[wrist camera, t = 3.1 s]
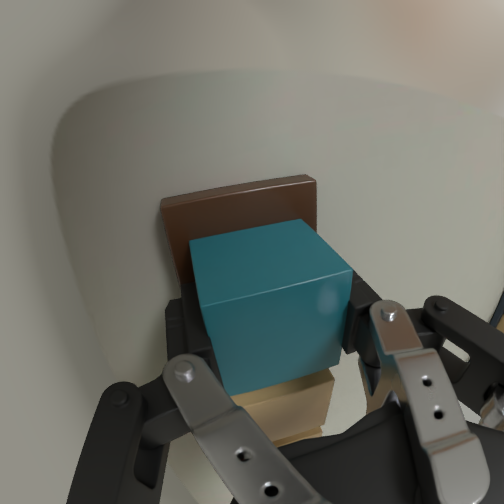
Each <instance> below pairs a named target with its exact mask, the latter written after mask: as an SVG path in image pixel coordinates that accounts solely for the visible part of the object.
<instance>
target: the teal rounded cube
mask: <svg viewBox="0 0 504 504" xmlns="http://www.w3.org/2000/svg"><path fill="white" fill-rule="evenodd" d="M189 246H190V252H191V258H192V265H193V270H194V276H195V282H196V288H197V293H198V299H199V304H200V309H201V313H202V316H203V320H204V324H205V328H206V331H207V335H208V337H210V338H211V342H212V346H213V349H214V353H215V357H216V360H217V364H218V367H219V371H220V374H221V378H222V381H223V385H224V389H225V390H226V392H227V393H228V394H229V396H235V395H239V394H243V393H247V392H251V391H255V390H258V389H262V388H266V387H270V386H273V385H277V384H280V383H283V382H287V381H290V380H293V379H297V378H300V377H303V376H306V375H309V374H312V373H315V372H318V371H321V370H324V369H327V368H330V367H332V366H335V365H338V364H339V360H340V355H341V350H342V340H343V334H344V328H345V322H346V316H347V309H348V302H349V300H350V292H351V284H352V276H353V269H352V268H351V267H350V266H349V265H348V264H347V263H346V262H345V261H344V260H343V259H342V258H341V257H340V256H339V255H338V254H337V253H336V252H335V251H334V250H333V249H332V248H331V247H330V246H329V245H328V244H327V243H326V242H325V241H324V240H323V239H322V238H321V237H320V236H319V235H318V234H317V233H316V232H315V231H314V230H313V229H312V228H311V227H310V226H308V225H307V224H306V223H305V222H304V221H303V220H302V219H296V220H290V221H285V222H280V223H275V224H269V225H264V226H259V227H254V228H249V229H244V230H239V231H234V232H229V233H224V234H219V235H214V236H209V237H204V238H199V239H194V240H190V241H189Z"/></svg>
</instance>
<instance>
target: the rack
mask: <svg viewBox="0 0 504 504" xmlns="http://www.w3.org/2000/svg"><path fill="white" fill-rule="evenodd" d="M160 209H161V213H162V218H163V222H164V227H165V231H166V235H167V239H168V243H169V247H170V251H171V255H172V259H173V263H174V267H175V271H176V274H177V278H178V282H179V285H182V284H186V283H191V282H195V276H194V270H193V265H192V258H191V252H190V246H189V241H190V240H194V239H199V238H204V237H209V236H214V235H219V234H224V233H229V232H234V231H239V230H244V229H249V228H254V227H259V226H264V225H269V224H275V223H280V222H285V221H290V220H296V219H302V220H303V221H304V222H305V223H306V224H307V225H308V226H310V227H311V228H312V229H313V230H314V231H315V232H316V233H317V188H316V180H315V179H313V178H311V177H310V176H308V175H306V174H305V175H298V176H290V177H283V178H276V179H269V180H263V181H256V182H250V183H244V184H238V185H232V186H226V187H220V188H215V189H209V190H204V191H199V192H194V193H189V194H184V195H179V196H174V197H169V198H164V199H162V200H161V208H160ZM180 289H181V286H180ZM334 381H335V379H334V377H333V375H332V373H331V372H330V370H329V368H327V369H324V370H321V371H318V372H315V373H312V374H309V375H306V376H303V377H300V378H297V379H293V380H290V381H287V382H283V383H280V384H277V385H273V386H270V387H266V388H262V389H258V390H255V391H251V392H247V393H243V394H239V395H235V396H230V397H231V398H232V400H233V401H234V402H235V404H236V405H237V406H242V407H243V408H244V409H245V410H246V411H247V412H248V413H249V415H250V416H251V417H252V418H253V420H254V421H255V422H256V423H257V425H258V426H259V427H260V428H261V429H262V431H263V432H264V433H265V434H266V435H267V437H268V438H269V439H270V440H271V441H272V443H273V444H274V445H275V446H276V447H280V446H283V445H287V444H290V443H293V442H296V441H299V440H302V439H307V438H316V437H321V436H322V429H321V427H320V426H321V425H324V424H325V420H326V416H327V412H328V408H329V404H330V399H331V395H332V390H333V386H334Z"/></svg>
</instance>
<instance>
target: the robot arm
mask: <svg viewBox="0 0 504 504" xmlns="http://www.w3.org/2000/svg"><path fill="white" fill-rule="evenodd" d="M180 286H181V296H182V298H178V299H173V300H170V301H169V303H168V305H167V307H166V309H165V320H166V341H167V356H168V362H167V363H166V365H165V366H164V368H163V372H162V374H161V375H160V376H159V377H158V378H157V379H155V380H153V381H151V382H149V383H147V384H145V385H143V386H141V387H137V386H136V385H135V384H133V383H130V382H118V383H115V384H112V385H111V386H109V387H108V388H107V389H106V390H105V391H104V392H103V394H102V396H101V398H100V401H99V404H98V406H97V409H96V412H95V414H94V417H93V420H92V423H91V425H90V428H89V431H88V434H87V437H86V440H85V443H84V446H83V449H82V452H81V455H80V458H79V461H78V465H77V467H76V471H75V474H74V477H73V481H72V485H71V488H70V492H69V495H68V499H67V503H66V504H159V502H160V496H161V490H162V484H163V479H164V473H165V467H166V462H167V457H168V451H169V446H170V441H172V440H174V439H176V438H178V437H181V436H183V435H185V434H187V433H189V432H192V434H193V436H194V437H195V439H196V441H197V442H198V444H199V446H200V447H201V449H202V450H203V452H204V454H205V455H206V457H207V458H208V460H209V461H210V463H211V465H212V466H213V468H214V469H215V471H216V472H217V474H218V475H219V477H220V478H221V479H222V481H223V482H224V484H225V485H226V487H227V488H228V489H229V491H230V492H231V494H232V495H233V496H234V497H233V499H232V501H231V503H230V504H504V333H503V332H501V331H500V330H498V329H496V328H495V327H493V326H492V325H490V324H489V323H487V322H485V321H484V320H482V319H481V318H479V317H477V316H476V315H474V314H473V313H471V312H469V311H468V310H466V309H464V308H463V307H461V306H460V305H458V304H456V303H455V302H453V301H451V300H450V299H448V298H446V297H443V296H431V297H428V298H427V299H426V300H425V303H424V306H423V308H418V309H407V310H405V308H404V307H403V306H402V305H401V304H399V303H397V302H395V301H392V300H382V299H381V298H380V297H379V296H378V295H377V294H376V292H375V291H374V290H373V289H372V288H371V287H370V286H369V285H368V284H367V283H366V282H365V281H363V279H362V278H361V277H360V276H359V275H357V273H356V272H355V271H354V270H353V276H352V284H351V292H350V300H349V302H348V309H347V316H346V322H345V328H344V334H343V340H342V348H343V349H344V351H345V352H346V354H350V353H353V352H355V351H357V352H358V354H359V359H358V365H359V369H360V374H361V378H362V382H363V386H364V391H365V395H366V400H367V410H366V416H364V417H363V418H362V419H361V420H359V421H358V422H357V423H355V424H354V425H353V426H351V427H350V428H349V429H347V430H346V431H345V432H343V433H341V434H337V435H330V436H323V437H316V438H307V439H302V440H299V441H296V442H293V443H290V444H287V445H283V446H280V447H276V446H275V445H274V444H273V443H272V441H271V440H270V439H269V438H268V437H267V435H266V434H265V433H264V432H263V431H262V429H261V428H260V427H259V426H258V425H257V423H256V422H255V421H254V420H253V418H252V417H251V416H250V415H249V413H248V412H247V411H246V410H245V409H244V408H243V407H242V406H237V405H236V404H235V402H234V401H233V400H232V398H231V397H230V396H229V394H228V393H227V392H226V390H225V389H224V385H223V381H222V378H221V374H220V371H219V367H218V364H217V360H216V357H215V353H214V349H213V346H212V342H211V338H210V337H208V335H207V331H206V328H205V324H204V320H203V316H202V313H201V309H200V304H199V299H198V293H197V288H196V282H191V283H186V284H182V285H180ZM446 339H448V340H449V341H451V342H452V343H454V344H455V345H457V346H458V347H460V348H461V349H462V350H464V351H465V352H467V353H468V354H469V356H470V359H471V361H470V363H467V362H464V361H463V360H461V359H460V358H458V357H457V356H456V355H454V354H453V353H451V352H450V351H448V350H447V349H445V348H444V347H443V344H444V342H445V340H446ZM458 400H459V401H460V402H462V403H463V404H464V405H466V406H467V407H468V408H470V409H471V410H472V411H474V412H475V413H476V414H478V415H479V416H480V417H481V419H480V421H479V424H475V423H472V422H469V421H466V420H465V418H464V415H463V412H462V410H461V407H460V404H459V402H458Z"/></svg>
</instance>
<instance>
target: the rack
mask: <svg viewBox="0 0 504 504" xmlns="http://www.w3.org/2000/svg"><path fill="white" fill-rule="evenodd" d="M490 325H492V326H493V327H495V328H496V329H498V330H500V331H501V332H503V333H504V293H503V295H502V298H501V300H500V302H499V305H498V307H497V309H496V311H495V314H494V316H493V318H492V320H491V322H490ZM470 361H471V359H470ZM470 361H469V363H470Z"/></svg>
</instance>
